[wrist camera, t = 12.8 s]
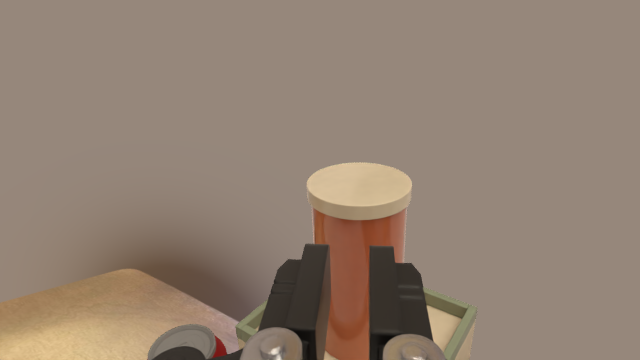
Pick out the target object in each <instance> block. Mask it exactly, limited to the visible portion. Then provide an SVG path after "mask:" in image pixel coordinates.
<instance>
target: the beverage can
mask: <svg viewBox="0 0 640 360" xmlns="http://www.w3.org/2000/svg"><path fill="white" fill-rule="evenodd" d="M180 346H189V347H194V348H197V349H198V350H200V351H201V352H202V353H203V354H204V356H205V358H206V359H210V358H215V357H219V356H224V355H227V352H226V348H225V346H224V344H223V343H222V341H221V340H220V339H219V338H217V337H216V336H215V335H214V334H213V332H212V331H211V330H210V329H209V328H207V327H205V326H202V325H198V324H187V325H182V326H178V327H175V328H173V329H171V330H169V331H167V332H165V333H164V334H163V335H161V336H160V337H159V338H158V339H157V340H156V341H155V342H154V343H153V345H152V346H151V348H150V350H149V353H148V359H147V360H152V359H153V358H154V357H156V356H157V355H159V354H160V353H162V352H164V351H166V350H169V349H171V348H175V347H180Z"/></svg>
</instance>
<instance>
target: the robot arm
mask: <svg viewBox="0 0 640 360" xmlns="http://www.w3.org/2000/svg"><path fill="white" fill-rule="evenodd" d="M330 303H331V268H330V246H329V244H305V247H304V251H303V255H302V259H301V260H291V259H288V260H287V261H286V262H285V263H284V264H283V265H282V266H281V267H280V268H279V269H278V271H277V274H276V277H275V280H274V284H273V286H272V289H271V294H270V295H269V298H268V301H267V304H266V307H265V310H264V313H263V316H262V319H261V322H260V326H259V329H258V331H257V333H255V334H254V335H253V336H251V337H250V338H249V340H248V341H247V342H246V344H245V346H244V348H242V349H240V350H238V351H236V352H234V353H231V354H228V355H224V356H219V357H215V358H210V359H206V358H205V356H204V354H203V353H202V352H201V351H200V350H198V349H197V348H194V347H189V346H180V347H175V348H171V349H169V350H166V351H164V352H162V353H160V354H159V355H157V356H156V357H154V358H153V359H152V360H324V354H325V345H326V337H327V329H328V321H329V312H330ZM369 360H447V359H446V358H445V355H444V353H443V351H442V350H441V349H440V347H439V346H438V345H437V344H436V343H434V341H433V336H432V331H431V326H430V321H429V315H428V310H427V305H426V300H425V294H424V290H423V284H422V279H421V274H420V273H419V272H418V271H417V269H416V268H415V267H414V266H413V265H412V264H411V263H395V255H394V247H393V246H376V245H369Z"/></svg>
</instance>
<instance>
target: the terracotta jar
mask: <svg viewBox="0 0 640 360" xmlns="http://www.w3.org/2000/svg"><path fill="white" fill-rule="evenodd" d="M411 194H412V182H411V180H410V178H409V177H408V176H407V175H406V174H405V173H403V172H402V171H400V170H398V169H395V168H392V167H389V166H385V165H380V164H374V163H344V164H338V165H333V166H329V167H326V168H323V169H321V170H319V171H317V172H315V173H314V174H313V175H312V176H310V177H309V179H308V181H307V198H308V201H309V203H310V205H311V206H312V224H313V243H314V244H329V246H330V268H331V303H330V312H329V321H328V329H327V337H326V345H325V350H326V351H327V352H328V353H329V354H330V355H331V356H333V357H334V358H336V359H338V360H369V245H376V246H393V247H394V255H395V263H404V251H405V233H406V215H407V206H408V205H409V203H410V201H411Z"/></svg>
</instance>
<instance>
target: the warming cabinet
mask: <svg viewBox="0 0 640 360" xmlns="http://www.w3.org/2000/svg"><path fill="white" fill-rule="evenodd" d="M423 290H424V294H425V300H426V305H427V310H428V315H429V321H430V326H431V331H432V336H433V341H434V343H436V344H437V345H438V346H439V347H440V349H441V350H442V351H443V353H444V355H445V358H446V359H447V360H469V359H470V353H471V346H472V339H473V332H474V326H475V319H476V313H477V307H475V306H472V305H469V304H467V303H464V302H462V301H459V300H456V299H454V298H451V297H448V296H446V295H443V294H440V293H438V292H435V291H432V290H429V289H427V288H424V287H423ZM267 301H268V300H266V301H265V302H264V303H263V304H261V305H260V306H259V307H258V308H257V309H255V310H254V311H253V312H252V313H250V314H249V315H248V316H247V317H246V318H244V319H243V320H242V321H241V322H240V323H238V324H237V325H236V333H237V337H238V344H239V350H240V349H242V348H244V346H245V344H246V342H247V341H248V340H249V338H250V337H251V336H253V335H254V334H255V333H257V331H258V329H259V326H260V322H261V319H262V316H263V313H264V310H265V307H266V304H267ZM324 360H338V359H336V358H334V357H333V356H331V355H330V354H329V353H328V352H327V351H326V350H325V354H324Z"/></svg>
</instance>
